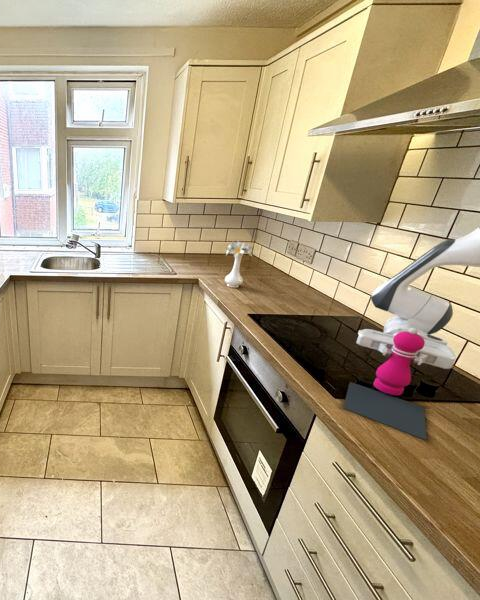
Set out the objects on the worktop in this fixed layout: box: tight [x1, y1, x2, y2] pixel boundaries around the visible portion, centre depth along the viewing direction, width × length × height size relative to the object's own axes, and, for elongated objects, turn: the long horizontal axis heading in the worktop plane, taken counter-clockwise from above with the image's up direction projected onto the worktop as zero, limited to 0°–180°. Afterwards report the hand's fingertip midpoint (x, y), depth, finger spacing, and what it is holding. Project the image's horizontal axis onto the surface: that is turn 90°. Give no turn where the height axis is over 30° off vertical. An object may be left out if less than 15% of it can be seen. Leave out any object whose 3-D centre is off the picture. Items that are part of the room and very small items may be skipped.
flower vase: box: [224, 240, 253, 289], centre depth 173 cm, size 13×18×25 cm
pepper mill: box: [373, 328, 425, 396], centre depth 89 cm, size 7×7×20 cm
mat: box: [342, 381, 428, 441], centre depth 86 cm, size 16×16×1 cm
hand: (401, 358), depth 88 cm, fingers closed on pepper mill, 5 cm apart
